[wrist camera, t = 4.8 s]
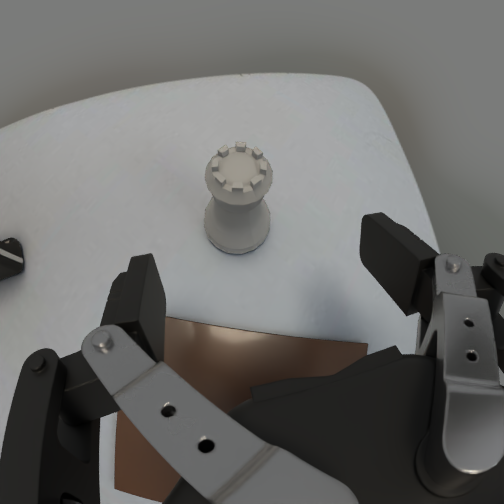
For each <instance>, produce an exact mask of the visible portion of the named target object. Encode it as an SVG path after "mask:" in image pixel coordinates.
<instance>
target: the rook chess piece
mask: <svg viewBox="0 0 504 504" xmlns="http://www.w3.org/2000/svg"><path fill="white" fill-rule="evenodd" d="M272 172H273V171H272V169H271V166H270V164H269V162H268V160H267V159H266V158H265V157H264V156H263V152H262V151H260V150H259V149H258V148H257V147H256V146H255V148H254V149H253V150H252V149H250V148H247V147H246V142H236V147H232V148H228V147H227V146H226V145H224V146H223V147H221V148H220V149H219V150H218V154H216V155H215V156H213V157H212V159H211V160H210V162H209V163H208V165H207V167H206V172H205V181H206V184H207V187H208V189H209V191H210V192H211V193H212V195H213V197H212V199H211V200H210V202H209V204H208V206H207V207H206V209H205V218H204V223H205V224H204V227H205V230H206V233H207V236H208V238H209V239H210V241H211V242H212V243H213V244H214V245H215V246H216V247H217V248H219V249H221V250H223V251H225V252H227V253H237V254H243V253H246V252H249V251H252V250H254V249H256V248H257V247H258V246H259V245H260V244H261V243H262V242H264V240H265V238H266V236H267V234H268V232H269V226H270V212H269V209H268V207H267V204H266V202H265V200H264V199H263V197H264V195H265V194H266V193H267V192H268V190H269V188H270V186H271V184H272Z"/></svg>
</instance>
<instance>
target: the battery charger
mask: <svg viewBox="0 0 504 504" xmlns="http://www.w3.org/2000/svg"><path fill="white" fill-rule="evenodd" d="M22 265H23V259H22V251H21V247H20V244H19V242H18V241H17V240H16V239H15V238H8V239H6V240H3V241H0V280H2V279H5V278H7V277H10V276H12V275H15V274H18V273H20V272H21V271H22Z"/></svg>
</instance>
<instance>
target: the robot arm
mask: <svg viewBox="0 0 504 504" xmlns="http://www.w3.org/2000/svg"><path fill="white" fill-rule="evenodd" d="M360 258H361V261H362V263H363V265H364V266H365V267H366V268H367V270H368V271H369V272H370V273H371V274H372V275H373V277H374V278H375V279H376V280H377V281H378V282H379V284H380V285H381V286H382V287H383V288H384V289H385V291H386V292H387V293H388V294H389V295H390V297H391V298H392V299H393V300H394V301H395V303H396V304H397V305H398V306H399V308H400V309H401V310H402V311H403V312H404V314H405V315H406V316H409V315H411V314H414V313H417V312H419V313H420V316H419V320H418V328H417V340H416V350H415V354H404V355H402V354H401V353H400V351H399V350H398V348H397V347H396V345H395V346H392V347H389V348H386V349H384V350H381V351H378V352H375V353H372V354H369V355H366V356H364V357H362V358H361V359H359V360H357V361H356V362H354V363H352V364H351V365H349V366H348V367H346V368H344V369H342V370H341V371H339V372H337V373H336V374H333V375H330V376H319V377H301V378H287V379H283V380H279V381H275V382H270V383H266V384H261V385H257V386H252V387H250V391H251V396H252V398H251V399H249V400H246V401H244V402H243V403H241V404H239V405H238V406H236V407H234V408H233V409H232V410H230V411H229V412H228V413H227V414H226V413H224V412H223V411H222V410H220V409H219V408H218V407H217V406H215V405H214V404H213V403H212V402H210V401H209V400H208V399H207V398H205V397H204V396H203V395H202V394H200V393H199V392H198V391H197V390H196V389H194V388H193V387H192V386H191V385H190V384H189V383H187V382H186V381H185V380H184V379H183V378H182V377H180V376H179V375H178V374H177V373H176V372H175V371H174V370H172V369H171V368H170V367H169V366H168V365H167V364H166V363H164V344H165V318H166V297H165V292H164V288H163V285H162V282H161V279H160V276H159V273H158V270H157V267H156V263H155V260H154V257H153V255H152V254H151V253H150V254H145V255H139V256H134V257H131V260H130V263H129V267H128V270H127V272H123V273H120V274H119V275H118V277H117V278H116V279H115V280H114V281H113V283H112V286H111V289H110V294H109V296H108V299H107V300H108V302H107V303H106V306H105V310H104V313H103V317H102V320H101V324H100V327H98V328H96V329H94V330H93V331H91V332H90V333H89V334H88V335H87V336H86V337H85V339H84V340H83V343H82V346H81V350H80V351H78V352H76V353H73V354H71V355H68V356H65V357H63V358H59V356H58V355H57V354H56V352H55V351H54V350H52V349H48V348H45V349H40V350H38V351H36V352H34V353H33V354H31V355H30V356H29V357H28V358H27V359H26V361H25V362H24V364H23V366H22V369H21V373H20V376H19V379H18V382H17V386H16V389H15V393H14V397H13V400H12V404H11V408H10V412H9V417H8V421H7V426H6V430H5V435H4V441H3V446H2V452H1V458H0V504H100V488H99V435H100V418H101V417H104V416H106V415H109V414H112V413H114V412H117V411H120V410H122V411H123V412H124V413H125V414H126V416H127V417H128V418H129V419H130V421H131V422H132V423H133V424H134V425H135V427H136V428H137V429H138V430H139V431H140V433H141V434H142V435H143V436H144V437H145V438H146V439H147V441H148V442H149V443H150V444H151V445H152V446H153V447H154V448H155V449H156V450H157V452H158V453H159V454H160V455H161V456H162V457H163V458H164V459H165V460H166V461H167V462H168V463H169V464H170V465H171V466H172V467H173V468H174V469H175V470H176V471H177V472H178V473H179V474H180V475H181V477H180V479H179V480H178V482H177V483H176V485H175V486H174V488H173V489H172V490H171V492H170V493H169V495H168V496H167V497H166V499H165V500H164V502H163V503H162V504H504V386H502V385H500V381H499V369H498V366H499V367H500V369H501V370H502V372H503V373H504V319H503V318H502V316H501V315H500V314H499V310H500V308H501V306H502V304H503V301H504V255H501V254H497V253H489V254H487V255H486V256H485V259H484V263H483V266H472V267H471V266H470V264H469V263H468V262H467V261H466V260H465V259H464V258H462V257H460V256H457V255H454V254H449V253H447V254H446V253H445V254H438V253H437V252H436V251H435V250H434V249H432V248H431V247H430V246H429V245H428V244H426V243H425V242H424V241H423V240H420V238H419V237H418V236H416V235H414V233H413V232H411V231H410V230H409V229H408V228H406V227H404V226H402V225H400V224H398V223H395V222H394V221H393V220H392V219H390V218H389V217H388V216H386V215H385V214H384V213H382V212H380V213H374V214H368V215H364V216H363V218H362V223H361V238H360Z"/></svg>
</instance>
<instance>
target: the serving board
mask: <svg viewBox="0 0 504 504" xmlns="http://www.w3.org/2000/svg"><path fill="white" fill-rule="evenodd" d="M367 349H368V344H367V343H355V342H342V341H331V340H321V339H311V338H302V337H293V336H285V335H277V334H269V333H262V332H254V331H248V330H241V329H234V328H228V327H222V326H215V325H210V324H204V323H198V322H192V321H187V320H182V319H176V318H171V317H166V318H165V344H164V363H166V364H167V365H168V366H169V367H170V368H171V369H172V370H174V371H175V372H176V373H177V374H178V375H179V376H180V377H182V378H183V379H184V380H185V381H186V382H187V383H189V384H190V385H191V386H192V387H193V388H194V389H196V390H197V391H198V392H199V393H200V394H202V395H203V396H204V397H205V398H207V399H208V400H209V401H210V402H212V403H213V404H214V405H215V406H217V407H218V408H219V409H220V410H222V411H223V412H224V413H226V414H227V413H228V412H229V411H230V410H232V409H233V408H234V407H236V406H238V405H239V404H241V403H243V402H244V401H246V400H249V399H251V398H252V396H251V391H250V387H252V386H257V385H261V384H266V383H270V382H275V381H279V380H283V379H287V378H301V377H319V376H330V375H333V374H336V373H337V372H339V371H341V370H342V369H344V368H346V367H348V366H349V365H351V364H352V363H354V362H356V361H357V360H359V359H361V358H362V357H364V356H366V355H367ZM180 477H181V475H180V474H179V473H178V472H177V471H176V470H175V469H174V468H173V467H172V466H171V465H170V464H169V463H168V462H167V461H166V460H165V459H164V458H163V457H162V456H161V455H160V454H159V453H158V452H157V450H156V449H155V448H154V447H153V446H152V445H151V444H150V443H149V442H148V441H147V439H146V438H145V437H144V436H143V435H142V434H141V433H140V431H139V430H138V429H137V428H136V427H135V425H134V424H133V423H132V422H131V421H130V419H129V418H128V417H127V416H126V414H125V413H124V412H123V411H122V410H120V411H118V413H117V427H116V444H115V489H117V490H120V491H123V492H126V493H129V494H133V495H136V496H139V497H143V498H147V499H150V500H154V501H158V502H162V503H163V502H164V500H165V499H166V497H167V496H168V495H169V493H170V492H171V490H172V489H173V488H174V486H175V485H176V483H177V482H178V480H179V479H180Z"/></svg>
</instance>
